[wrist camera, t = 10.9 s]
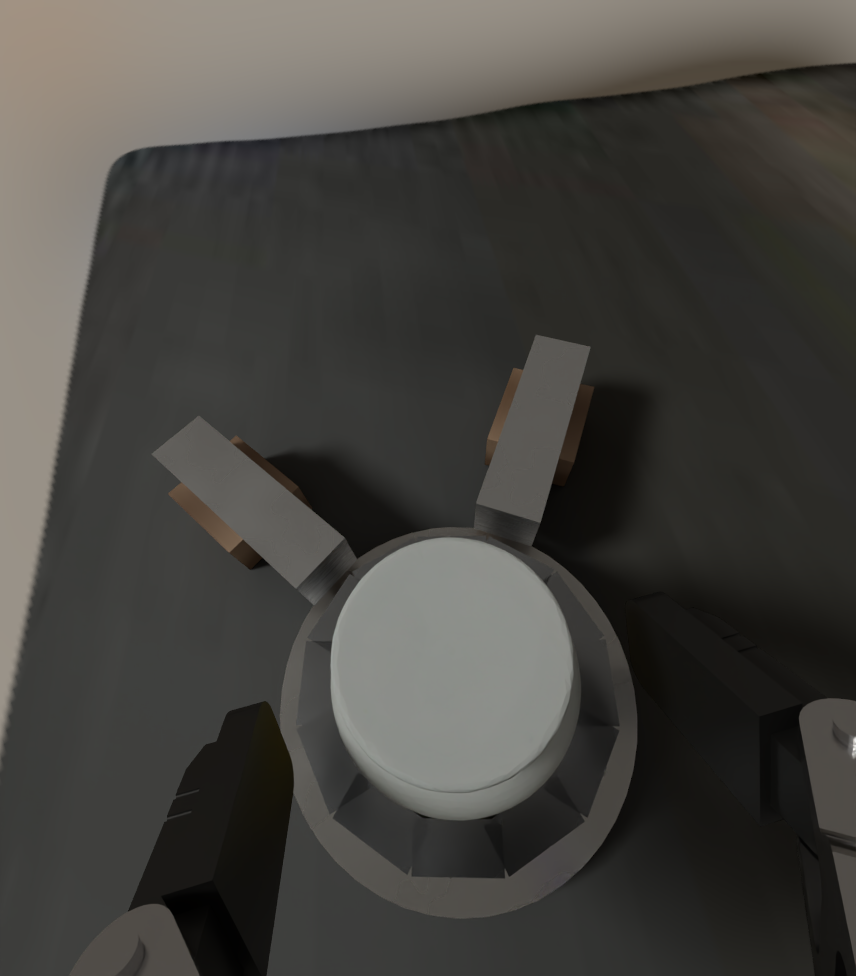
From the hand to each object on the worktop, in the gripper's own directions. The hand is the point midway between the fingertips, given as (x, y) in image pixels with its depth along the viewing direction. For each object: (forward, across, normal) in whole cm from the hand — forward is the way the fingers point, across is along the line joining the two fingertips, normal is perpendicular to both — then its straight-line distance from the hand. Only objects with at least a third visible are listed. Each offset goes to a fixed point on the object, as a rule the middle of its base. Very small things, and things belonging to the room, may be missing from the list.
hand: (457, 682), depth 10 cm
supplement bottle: (+5, 0, +4) cm, 7 cm away
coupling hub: (+6, 0, +5) cm, 8 cm away
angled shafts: (+11, 0, -3) cm, 11 cm away
